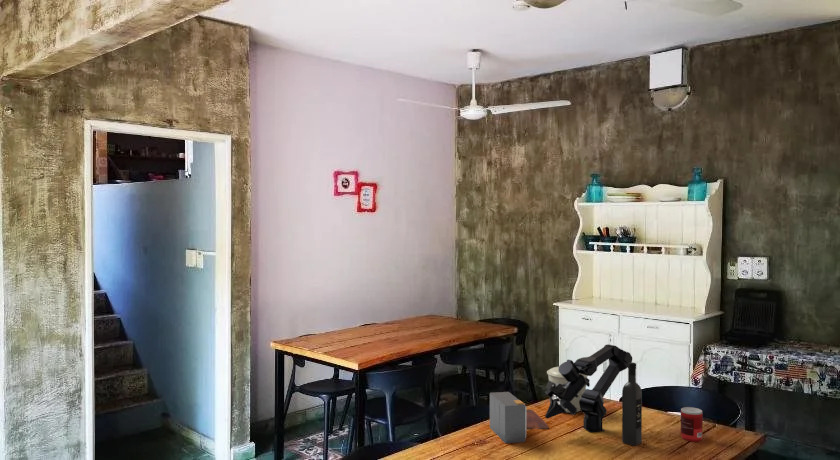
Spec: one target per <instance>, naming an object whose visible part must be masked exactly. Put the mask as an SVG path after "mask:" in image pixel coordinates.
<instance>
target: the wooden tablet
mask: <svg viewBox="0 0 840 460" xmlns="http://www.w3.org/2000/svg"><path fill="white" fill-rule="evenodd" d="M535 429H536V430H548V429H549V426H548V423H546V422H545V420H544V419H542V417H540V416H539V415H538V413H537V412H536V411H534V410H533V409H526V430H535Z"/></svg>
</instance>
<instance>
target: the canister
mask: <svg viewBox="0 0 840 460" xmlns="http://www.w3.org/2000/svg"><path fill="white" fill-rule="evenodd" d="M558 369H559V366H554V367H551V368H550V369H548V370H547V371H546V374H547V376H548V381H552V382H554V383H556V384H557V383H560V384H562V383H564V384H566V383H567V382H568V381H566V379H565V378H564V377H563V376H562V375H561V374H560V373H559V370H558ZM581 375H583V374H581ZM583 376H584V377H585V378H588V376H587V375H583ZM586 389H587V385H585V386H584V387H583V388H582V389H581V390H580V392H579V393H578V394H577V395H578V397H577V398H576V397H574V398H573V400H572V401H571V403H572V404H573V405H574V406H575V407H576V408H577V412H576V413H579V412H581V409H580V405H579V401H580V398H581V397H582V396H581V395H582V394H583V393H584V391H585V390H586ZM565 411H566V412H565V413H569V414H571V413H570V411H569V410H568V409H566V410H565Z"/></svg>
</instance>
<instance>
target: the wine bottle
mask: <svg viewBox="0 0 840 460" xmlns="http://www.w3.org/2000/svg"><path fill="white" fill-rule="evenodd" d="M627 370H628V372H627V376H628V377H627V382H626V383H624V385H623V387H622V393H621V397H622V400H621V403H622V405H621V410H622V411H621V414H622V415H621V419H622V420H621V432H622V433H621V442H622V443H624V444H627V445H630V446H633V447H635V446H638V445H640V444H641V443H643V441H642V436H643V435H642V431H643V430H642V429H643V426H642V425H643V423H642V418H643V415H642V413H643V410H642V409H643V407H642V406H643V399H642V398H643V397H642V396H643V393H642V388H641V386H640V385H639V383H638V382H637V363H636V362H633V361H632V362H629V363H628V368H627Z"/></svg>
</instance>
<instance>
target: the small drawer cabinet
mask: <svg viewBox="0 0 840 460" xmlns="http://www.w3.org/2000/svg"><path fill="white" fill-rule="evenodd" d="M525 406H526V403H524V402H523V401H521V400H520V399H519V398H517V397H516V396H515V395H513V394H512V393H511V392H509V391H503V392H502V391H500V392H499V391H497V392H489V429H491V430H492V431H493V432H494V433H495V435H497V437H498V436H499V437H500V438H499V437H498V438H499V439H500V440H501V441H502V442H503V443H504V444H514V443H515V444H517V443H525V442H526V438H525Z"/></svg>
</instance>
